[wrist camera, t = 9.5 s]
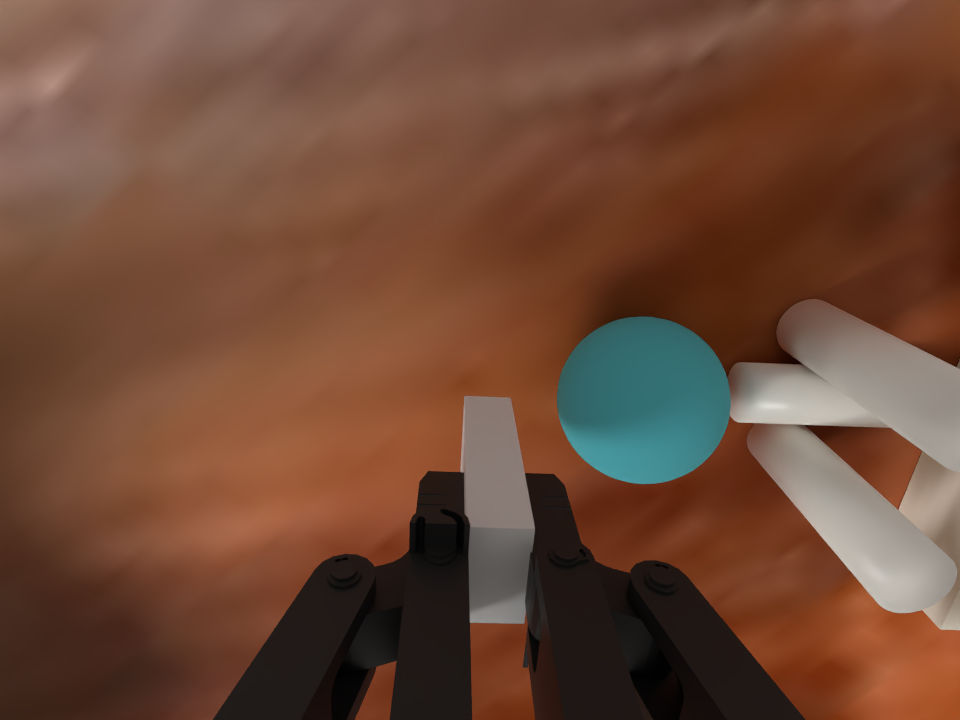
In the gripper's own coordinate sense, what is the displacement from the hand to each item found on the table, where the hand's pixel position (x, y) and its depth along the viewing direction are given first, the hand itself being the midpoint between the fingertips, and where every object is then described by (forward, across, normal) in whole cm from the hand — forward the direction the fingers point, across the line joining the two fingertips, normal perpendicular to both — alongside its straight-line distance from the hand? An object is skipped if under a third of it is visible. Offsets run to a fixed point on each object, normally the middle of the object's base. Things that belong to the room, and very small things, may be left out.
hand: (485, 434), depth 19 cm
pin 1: (+5, -13, -3) cm, 14 cm away
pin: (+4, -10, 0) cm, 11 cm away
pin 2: (+5, -13, +2) cm, 14 cm away
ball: (+2, -6, -1) cm, 6 cm away
